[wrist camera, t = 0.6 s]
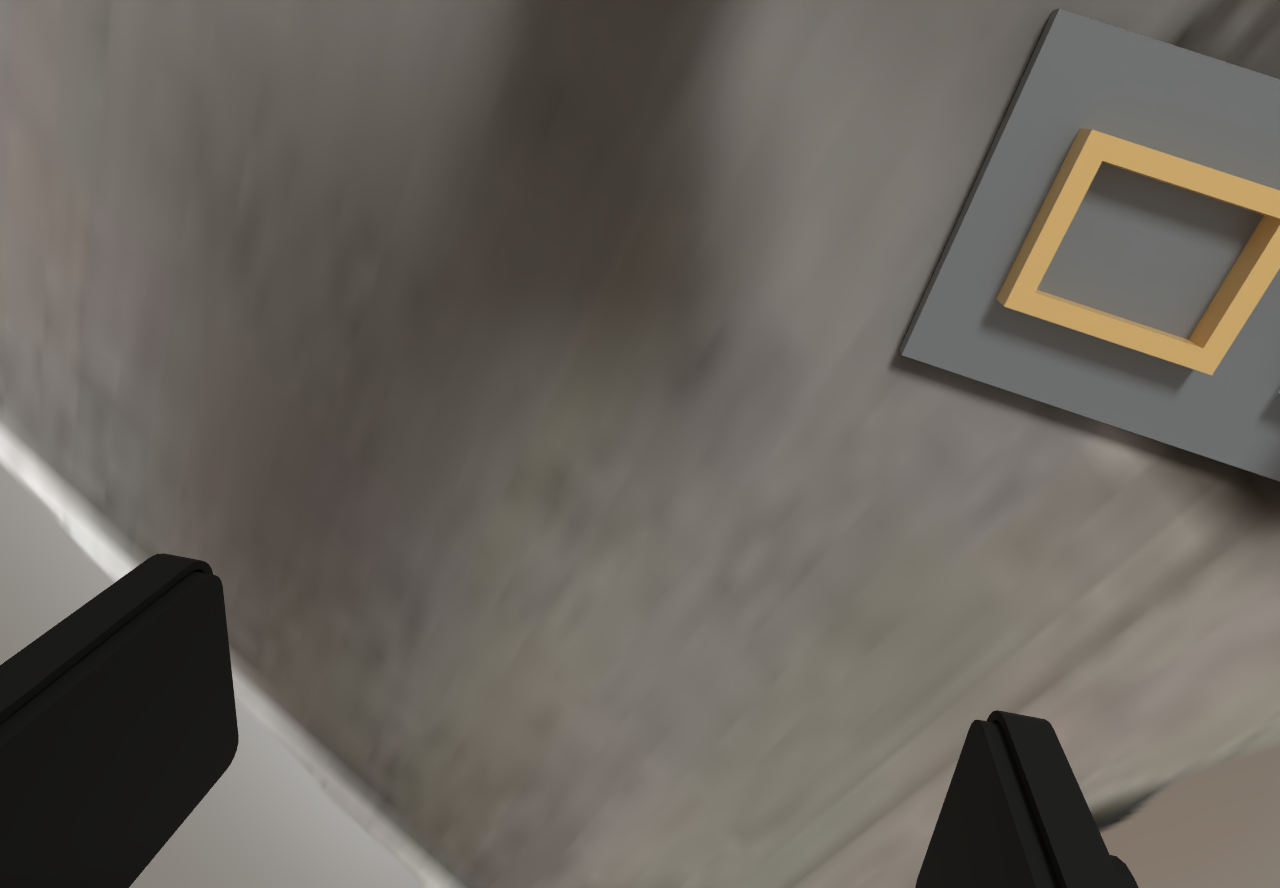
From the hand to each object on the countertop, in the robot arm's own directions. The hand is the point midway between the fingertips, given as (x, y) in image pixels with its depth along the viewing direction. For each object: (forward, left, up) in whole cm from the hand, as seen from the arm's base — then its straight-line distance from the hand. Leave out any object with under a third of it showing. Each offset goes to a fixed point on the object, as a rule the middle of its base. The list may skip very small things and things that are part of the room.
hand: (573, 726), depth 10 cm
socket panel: (-6, +25, -34) cm, 43 cm away
